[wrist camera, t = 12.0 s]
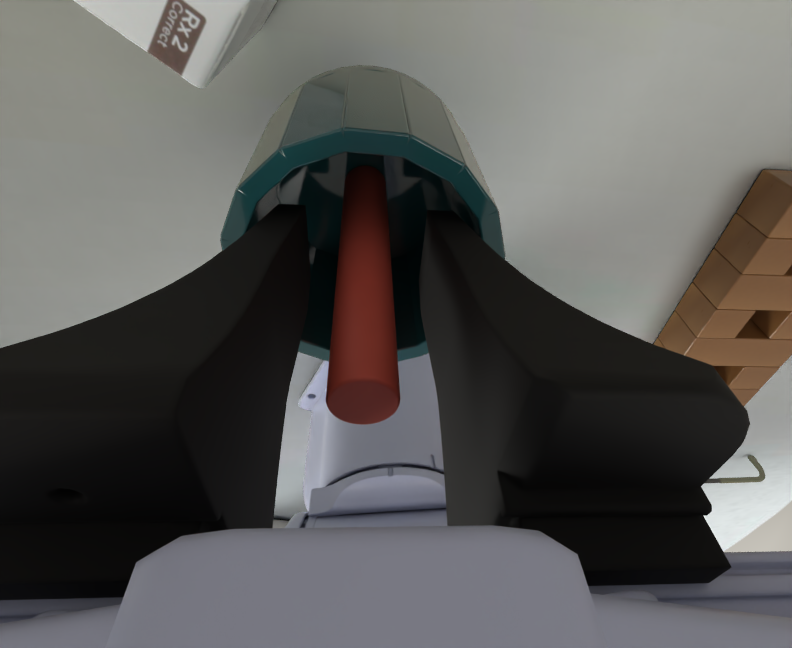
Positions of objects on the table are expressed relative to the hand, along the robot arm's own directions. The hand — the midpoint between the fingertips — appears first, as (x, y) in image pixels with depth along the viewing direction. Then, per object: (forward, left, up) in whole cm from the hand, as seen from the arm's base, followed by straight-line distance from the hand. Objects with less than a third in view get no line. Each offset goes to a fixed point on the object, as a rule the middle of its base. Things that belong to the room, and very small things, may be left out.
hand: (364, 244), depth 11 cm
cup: (0, 0, -4) cm, 4 cm away
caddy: (+1, -23, -10) cm, 25 cm away
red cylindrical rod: (0, 0, -3) cm, 3 cm away
